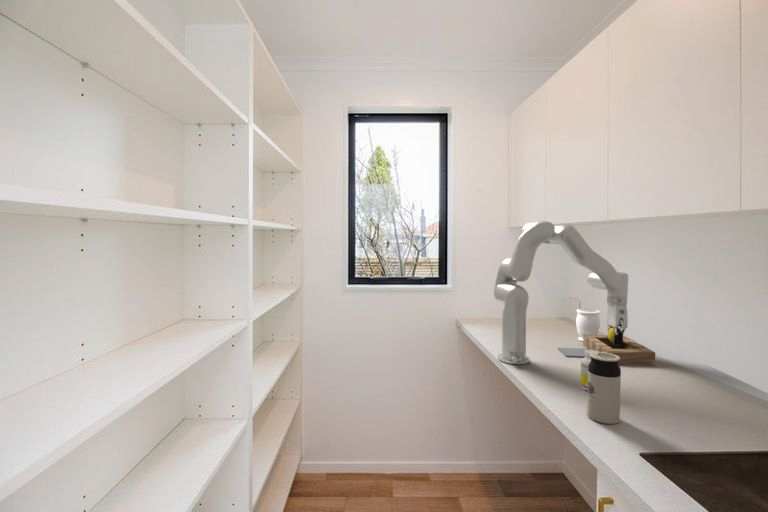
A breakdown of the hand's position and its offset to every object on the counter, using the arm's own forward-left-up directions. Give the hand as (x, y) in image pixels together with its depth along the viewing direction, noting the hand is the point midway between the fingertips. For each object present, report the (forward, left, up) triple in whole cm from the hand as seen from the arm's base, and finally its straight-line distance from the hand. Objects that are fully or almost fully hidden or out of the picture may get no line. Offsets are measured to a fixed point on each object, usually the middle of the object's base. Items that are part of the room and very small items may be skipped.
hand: (614, 341), depth 170 cm
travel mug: (-64, +30, -6) cm, 71 cm away
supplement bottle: (-42, +25, -6) cm, 49 cm away
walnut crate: (0, -1, -6) cm, 6 cm away
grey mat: (0, +16, -6) cm, 17 cm away
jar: (+23, +3, -6) cm, 24 cm away
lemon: (0, 0, -1) cm, 1 cm away
